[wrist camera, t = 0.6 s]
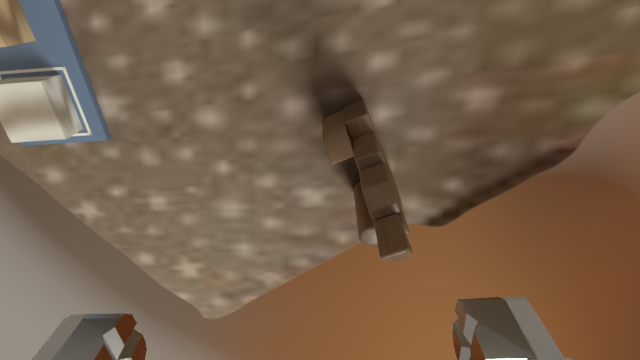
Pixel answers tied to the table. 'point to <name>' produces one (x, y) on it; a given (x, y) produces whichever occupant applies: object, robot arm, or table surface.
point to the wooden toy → (369, 181)
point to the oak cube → (13, 24)
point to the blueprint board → (55, 66)
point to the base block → (37, 109)
